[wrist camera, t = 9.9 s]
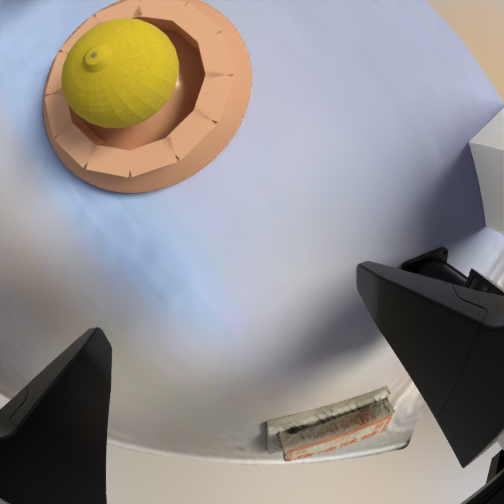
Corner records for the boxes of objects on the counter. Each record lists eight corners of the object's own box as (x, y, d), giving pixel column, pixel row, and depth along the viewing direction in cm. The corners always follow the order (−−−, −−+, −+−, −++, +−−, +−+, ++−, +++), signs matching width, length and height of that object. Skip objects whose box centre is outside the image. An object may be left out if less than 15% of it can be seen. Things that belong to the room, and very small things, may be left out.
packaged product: (404, 405, 29) (384, 438, 34) (388, 381, 34) (372, 417, 38) (273, 448, 27) (273, 473, 31) (264, 417, 31) (266, 447, 35)
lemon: (195, 107, 15) (188, 87, 8) (113, 142, 15) (51, 155, 8) (170, 33, 13) (149, -28, 6) (89, 69, 13) (23, 41, 6)
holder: (224, -20, 12) (229, -40, 10) (269, 157, 18) (281, 162, 16) (39, 46, 11) (19, 38, 9) (79, 216, 17) (62, 230, 15)
